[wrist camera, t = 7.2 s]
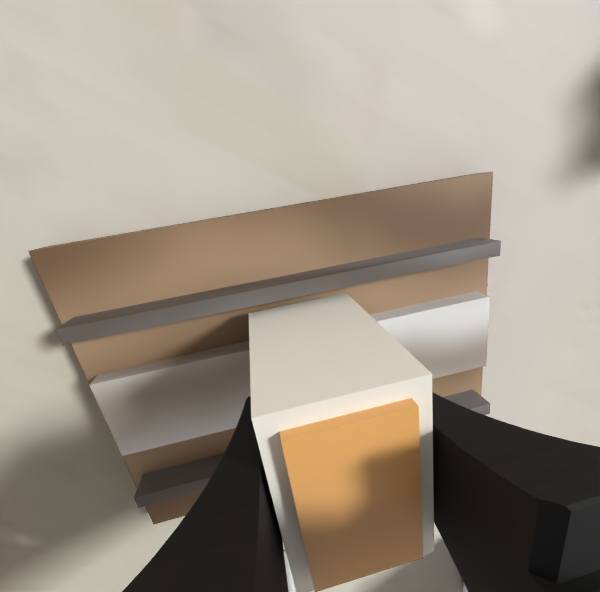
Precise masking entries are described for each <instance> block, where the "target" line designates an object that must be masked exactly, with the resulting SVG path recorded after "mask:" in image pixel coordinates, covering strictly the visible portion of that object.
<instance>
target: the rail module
mask: <svg viewBox="0 0 600 592" xmlns="http://www.w3.org/2000/svg"><path fill="white" fill-rule="evenodd" d="M249 350H250V389H251V419H252V423H253V427H254V431H255V435H256V438H257V442H258V446H259V450H260V454H261V458H262V462H263V466H264V469H265V473H266V477H267V481H268V485H269V489H270V493H271V496H272V500H273V504H274V508H275V512H276V516H277V520H278V523H279V527H280V531H281V535H282V539H283V543H284V547H285V550H286V554H287V558H288V562H289V566H290V570H291V574H292V577H293V581H294V585H295V589H296V592H310V591H313V590H315V592H317V591H320V590H324V589H327V588H330V587H333V586H336V585H339V584H342V583H346V582H349V581H352V580H355V579H358V578H361V577H365V576H368V575H371V574H374V573H377V572H380V571H383V570H387V569H390V568H393V567H396V566H399V565H402V564H405V563H409V562H412V561H415V560H418V559H421V558H423V556H424V555H427V554H430V553H433V552H434V492H433V407H432V373H431V372H430V371H429V370H428V369H427V368H426V367H424V366H423V365H422V364H421V363H420V362H419V361H418V360H417V359H416V358H415V357H414V356H413V355H412V354H411V353H410V352H409V351H408V350H406V349H405V348H404V347H403V346H402V345H401V344H400V343H399V342H398V341H397V340H396V339H395V338H394V337H393V336H392V335H391V334H389V333H388V332H387V331H386V330H385V329H384V328H383V327H382V326H381V325H380V324H379V323H378V322H377V321H376V320H375V319H374V318H373V317H371V316H370V315H369V314H368V313H367V312H366V311H365V310H364V309H363V308H362V307H361V306H360V305H359V304H358V303H357V302H356V301H355V300H353V299H352V298H351V297H350V296H349V295H348V294H347V293H344V294H339V295H335V296H330V297H325V298H320V299H315V300H311V301H306V302H301V303H296V304H291V305H286V306H282V307H277V308H272V309H267V310H262V311H258V312H253V313H249Z"/></svg>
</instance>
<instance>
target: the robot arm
mask: <svg viewBox="0 0 600 592" xmlns="http://www.w3.org/2000/svg"><path fill="white" fill-rule="evenodd" d="M432 407H433V492H434V523H435V525H436V527H437V528H438V530H439V532H440V534H441V536H442V538H443V540H444V542H445V545H446V547H447V549H448V551H449V553H450V555H451V557H452V559H453V561H454V563H455V565H456V567H457V569H458V571H459V573H460V575H461V577H462V580H463V582H464V587H463V591H464V592H600V447H597V446H592V445H587V444H582V443H577V442H572V441H568V440H564V439H560V438H556V437H552V436H548V435H545V434H541V433H537V432H534V431H530V430H527V429H524V428H520V427H517V426H514V425H511V424H508V423H505V422H502V421H499V420H496V419H493V418H490V417H488V416H485V415H483V414H480V413H478V412H475V411H473V410H470V409H467V408H465V407H463V406H460V405H458V404H456V403H454V402H452V401H450V400H448V399H445V398H443V397H441V396H439V395H437V394H435V393H433V392H432ZM123 592H289V591H288V583H287V575H286V567H285V559H284V551H283V540H282V535H281V531H280V527H279V523H278V520H277V516H276V512H275V508H274V504H273V500H272V496H271V493H270V489H269V485H268V481H267V477H266V473H265V469H264V466H263V462H262V458H261V454H260V450H259V446H258V442H257V438H256V435H255V431H254V427H253V423H252V419H251V396H248V398H247V399H246V401H245V404H244V408H243V411H242V413H241V416H240V419H239V421H238V424H237V426H236V428H235V431H234V433H233V435H232V438H231V440H230V442H229V444H228V446H227V448H226V450H225V452H224V454H223V456H222V458H221V460H220V462H219V464H218V466H217V468H216V469H215V471H214V473H213V475H212V476H211V478H210V480H209V481H208V483H207V485H206V486H205V488H204V489H203V491H202V493H201V494H200V496H199V497H198V499H197V500H196V502H195V503H194V505H193V506H192V507H191V509H190V510H189V512H188V513H187V515H186V516H185V517H184V519H183V520H182V522H181V523H180V524H179V526H178V527H177V528H176V530H175V531H174V532H173V533H172V535H171V536H170V537H169V538H168V540H167V541H166V542H165V543H164V545H163V546H162V547H161V548H160V550H159V551H158V552H157V553H156V555H155V556H154V557H153V558H152V559H151V561H150V562H149V563H148V564H147V565H146V566H145V568H144V569H143V570H142V571H141V572H140V573H139V574H138V575H137V576H136V577H135V579H134V580H133V581H132V582H131V583H130V584H129V585H128V586H127V587H126V588H125V589H124V590H123Z"/></svg>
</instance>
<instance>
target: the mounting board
mask: <svg viewBox="0 0 600 592" xmlns="http://www.w3.org/2000/svg"><path fill="white" fill-rule="evenodd" d="M492 181H493V172H486V173H476V174H470V175H464V176H459V177H453V178H447V179H441V180H435V181H429V182H423V183H418V184H412V185H406V186H400V187H394V188H388V189H382V190H377V191H371V192H365V193H359V194H353V195H347V196H341V197H336V198H330V199H324V200H318V201H312V202H306V203H300V204H294V205H289V206H283V207H277V208H271V209H265V210H259V211H253V212H248V213H242V214H236V215H230V216H224V217H218V218H212V219H207V220H201V221H195V222H189V223H183V224H177V225H171V226H166V227H160V228H154V229H148V230H142V231H136V232H130V233H124V234H119V235H113V236H107V237H101V238H95V239H89V240H83V241H78V242H72V243H66V244H60V245H54V246H48V247H44V248H39V249H35V250H31V251H29V254H30V256H31V258H32V260H33V262H34V264H35V267H36V269H37V271H38V273H39V275H40V278H41V280H42V282H43V284H44V286H45V288H46V291H47V293H48V295H49V297H50V299H51V302H52V304H53V306H54V308H55V310H56V312H57V315H58V317H59V319H60V321H61V323H62V326H60V327H59V328H57V329H56V330H55V331H56V333H57V335H58V337H59V339H60V341H61V343H62V345H66V344H71V345H72V347H73V350H74V352H75V354H76V356H77V358H78V360H79V363H80V365H81V367H82V369H83V371H84V373H85V376H86V378H87V380H88V382H89V384H90V385H89V386H90V388H91V390H92V392H93V394H94V396H95V399H96V401H97V403H98V405H99V407H100V409H101V412H102V414H103V416H104V418H105V420H106V423H107V425H108V427H109V429H110V431H111V433H112V436H113V438H114V440H115V442H116V444H117V446H118V449H119V451H120V453H121V455H122V456H123V459H124V461H125V463H126V465H127V467H128V469H129V472H130V474H131V476H132V478H133V480H134V483H135V485H136V487H137V491H136V494H135V497H134V499H135V501H136V503H137V505H138V507H142V506H146V509H147V511H148V513H149V515H150V517H151V520H152V522H153V524H157V523H160V522H164V521H167V520H171V519H175V518H178V517H182V516H186V515H187V513H188V512H189V510H190V509H191V507H192V506H193V505H194V503H195V502H196V500H197V499H198V497H199V496H200V494H201V493H202V491H203V489H204V488H205V486H206V485H207V483H208V481H209V480H210V478H211V476H212V475H213V473H214V471H215V469H216V468H217V466H218V464H219V462H220V460H221V458H222V456H223V454H224V452H225V450H226V448H227V446H228V444H229V442H230V440H231V438H232V435H233V433H234V431H235V428H236V426H237V424H238V421H239V419H240V416H241V413H242V411H243V408H244V404H245V401H246V399H247V398H248V396H251V389H250V350H249V313H253V312H258V311H262V310H267V309H272V308H277V307H282V306H286V305H291V304H296V303H301V302H306V301H311V300H315V299H320V298H325V297H330V296H335V295H339V294H344V293H347V294H348V295H349V296H350V297H351V298H352V299H353V300H355V301H356V302H357V303H358V304H359V305H360V306H361V307H362V308H363V309H364V310H365V311H366V312H367V313H368V314H369V315H370V316H371V317H373V318H374V319H375V320H376V321H377V322H378V323H379V324H380V325H381V326H382V327H383V328H384V329H385V330H386V331H387V332H388V333H389V334H391V335H392V336H393V337H394V338H395V339H396V340H397V341H398V342H399V343H400V344H401V345H402V346H403V347H404V348H405V349H406V350H408V351H409V352H410V353H411V354H412V355H413V356H414V357H415V358H416V359H417V360H418V361H419V362H420V363H421V364H422V365H423V366H424V367H426V368H427V369H428V370H429V371H430V372H431V373H432V392H433V393H435V394H437V395H439V396H441V397H443V398H445V399H448V400H450V401H452V402H454V403H456V404H458V405H460V406H463V407H465V408H467V409H470V410H473V411H475V412H478V413H480V414H483V415H486V414H489V413H490V403H489V402H488V401H486V400H485V399H484V398H483V397H482V396H481V389H482V370H483V366H486V358H487V341H488V323H489V306H490V296H487V276H488V258H490V257H495V256H500V246H501V241H498V240H492V239H489V238H490V219H491V200H492Z"/></svg>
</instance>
